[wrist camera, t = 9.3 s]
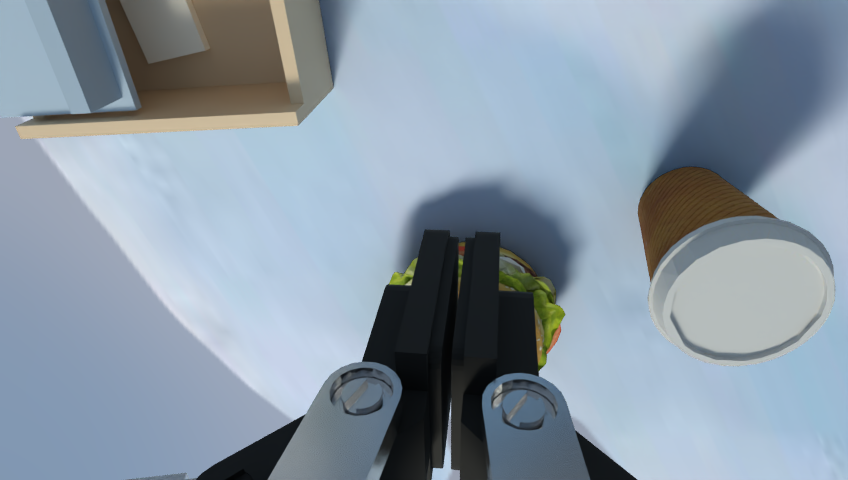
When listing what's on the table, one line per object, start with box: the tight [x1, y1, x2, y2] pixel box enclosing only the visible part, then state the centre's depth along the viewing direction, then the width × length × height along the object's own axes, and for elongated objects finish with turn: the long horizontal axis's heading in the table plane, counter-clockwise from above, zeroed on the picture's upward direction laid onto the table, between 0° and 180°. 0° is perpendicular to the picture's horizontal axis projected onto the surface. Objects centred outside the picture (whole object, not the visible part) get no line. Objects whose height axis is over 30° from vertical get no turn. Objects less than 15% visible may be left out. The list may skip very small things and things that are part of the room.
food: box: [389, 242, 565, 372], centre depth 43 cm, size 14×14×8 cm
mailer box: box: [15, 0, 334, 139], centre depth 33 cm, size 13×18×8 cm
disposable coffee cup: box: [638, 167, 835, 366], centre depth 35 cm, size 10×10×12 cm
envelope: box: [120, 0, 210, 64], centre depth 36 cm, size 7×4×1 cm, turn 13°
